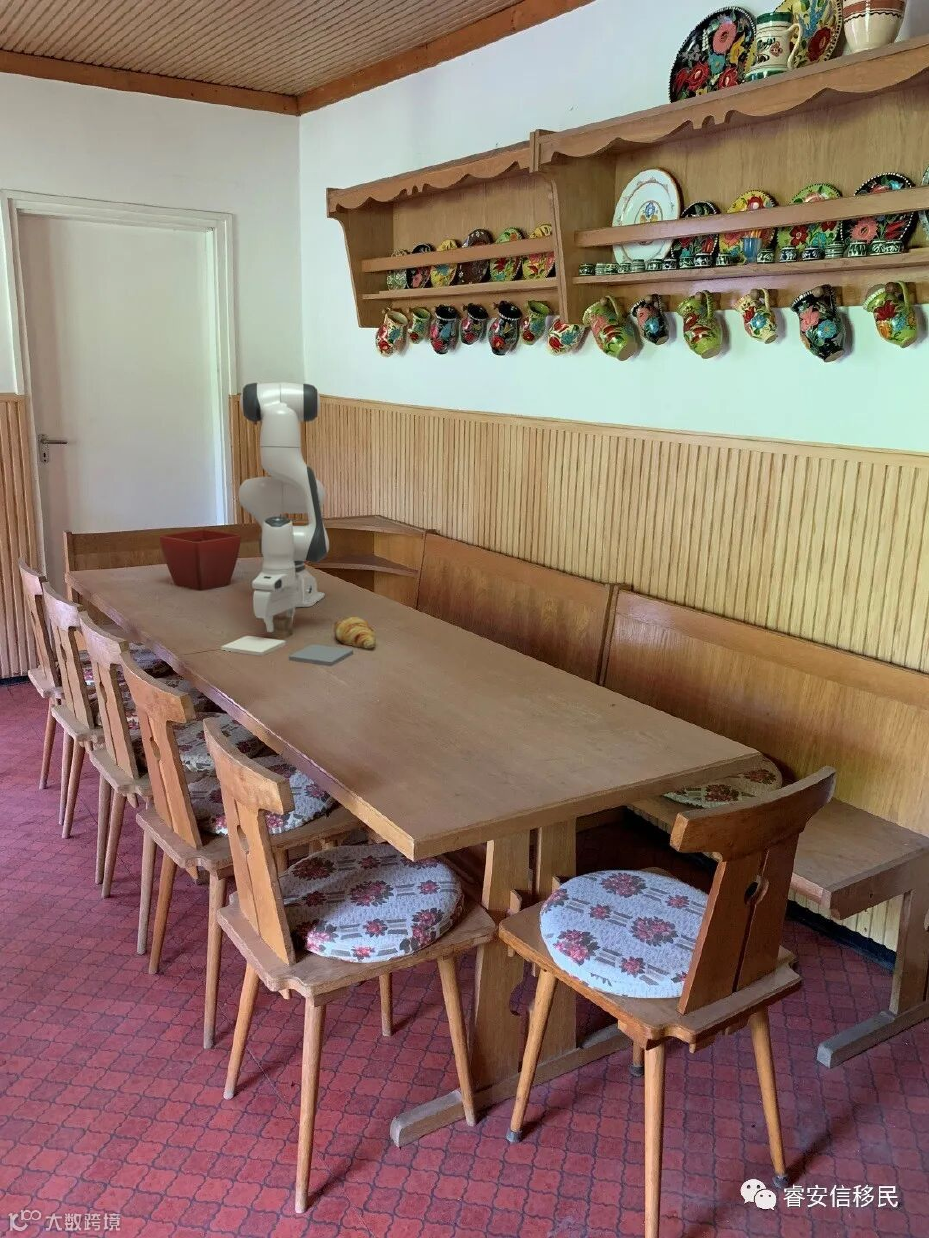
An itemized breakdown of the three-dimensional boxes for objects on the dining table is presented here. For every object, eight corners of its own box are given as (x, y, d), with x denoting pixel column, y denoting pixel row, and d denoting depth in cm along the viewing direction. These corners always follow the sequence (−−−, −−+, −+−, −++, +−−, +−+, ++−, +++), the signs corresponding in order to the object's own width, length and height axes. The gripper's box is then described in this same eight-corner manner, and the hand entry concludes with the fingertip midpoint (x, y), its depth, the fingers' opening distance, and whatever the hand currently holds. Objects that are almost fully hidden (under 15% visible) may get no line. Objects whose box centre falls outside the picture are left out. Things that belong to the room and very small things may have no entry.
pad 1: (246, 639, 272) (246, 635, 272) (285, 644, 268) (285, 640, 267) (221, 650, 261) (221, 646, 261) (261, 656, 257) (261, 652, 257)
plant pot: (206, 577, 347) (204, 528, 342) (244, 585, 336) (242, 535, 332) (160, 586, 332) (157, 535, 327) (198, 594, 321) (196, 542, 317)
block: (276, 632, 279) (276, 615, 278) (292, 634, 278) (292, 617, 276) (267, 637, 275) (266, 619, 273) (283, 639, 273) (282, 621, 272)
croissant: (381, 662, 266) (394, 634, 266) (351, 649, 260) (364, 621, 260) (345, 641, 283) (357, 615, 283) (316, 629, 277) (328, 602, 277)
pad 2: (312, 648, 265) (312, 644, 265) (353, 653, 261) (353, 649, 261) (289, 659, 254) (288, 656, 254) (331, 665, 250) (331, 662, 250)
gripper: (288, 570, 282) (289, 618, 286) (248, 583, 264) (249, 634, 267) (308, 572, 280) (308, 620, 284) (269, 585, 262) (270, 637, 265)
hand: (280, 627), depth 275 cm, fingers open, 8 cm apart
